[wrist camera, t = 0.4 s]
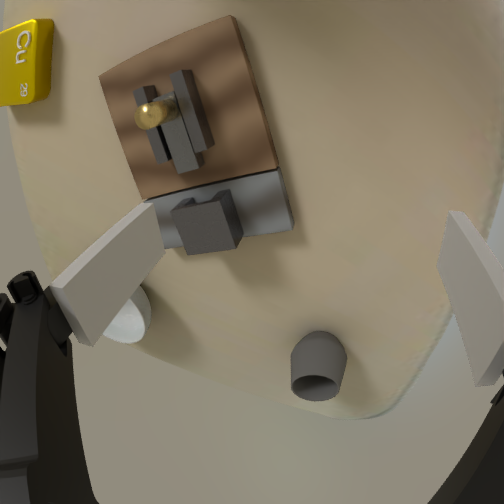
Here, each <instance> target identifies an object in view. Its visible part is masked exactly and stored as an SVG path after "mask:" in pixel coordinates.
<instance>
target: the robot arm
mask: <svg viewBox="0 0 504 504" xmlns="http://www.w3.org/2000/svg"><path fill="white" fill-rule="evenodd" d="M165 253H166V252H165V249H164V245H163V241H162V237H161V233H160V229H159V225H158V220H157V216H156V212H155V208H154V203H140V204H139V205H138V206H136V207H135V208H134V209H133V210H131V211H130V212H129V213H128V214H127V215H125V216H124V217H123V218H122V219H121V220H119V221H118V222H117V223H116V224H115V225H114V226H112V227H111V228H110V229H109V230H108V231H107V232H106V233H104V234H103V235H102V236H101V237H100V238H99V239H98V240H97V241H95V242H94V243H93V244H92V245H91V246H90V247H89V248H88V249H87V250H85V251H84V252H83V253H82V254H81V255H80V256H79V257H78V258H77V259H76V260H75V261H74V262H73V263H71V264H70V265H69V266H68V267H67V268H66V269H65V270H64V271H63V272H62V273H61V274H60V275H59V276H58V277H57V278H56V279H55V280H54V281H53V282H52V283H51V284H50V285H49V286H48V287H47V288H46V289H45V290H44V291H43V289H42V287H41V285H40V283H39V281H38V279H37V277H36V275H35V273H34V272H33V271H26V272H22V273H20V274H18V275H17V276H15V277H14V278H13V279H12V280H11V281H10V282H9V283H8V285H7V288H8V290H9V292H10V294H11V295H12V297H13V299H14V301H15V303H11V302H10V300H9V298H8V296H7V295H6V294H5V293H1V294H0V338H1V339H2V341H3V342H4V344H5V345H6V347H7V348H6V351H3V350H2V348H1V347H0V504H99V503H98V502H97V500H96V499H95V497H94V494H93V491H92V487H91V483H90V479H89V474H88V470H87V465H86V460H85V455H84V450H83V445H82V439H81V433H80V426H79V420H78V412H77V404H76V396H75V385H74V374H73V358H72V343H71V341H70V339H69V335H70V334H71V333H72V332H73V333H74V335H75V336H76V338H77V340H78V342H79V343H82V344H85V345H88V346H92V347H93V346H94V345H95V343H96V342H97V341H98V339H99V338H100V336H101V335H102V334H103V332H104V331H105V330H106V328H107V327H108V326H109V324H110V323H111V322H112V320H113V319H114V318H115V316H116V315H117V314H118V312H119V311H120V310H121V308H122V307H123V306H124V304H125V303H126V302H127V301H128V299H129V298H130V297H131V295H132V294H133V293H134V292H135V290H136V289H137V288H138V286H139V285H140V284H141V283H142V281H143V280H144V279H145V278H146V276H147V275H148V274H149V273H150V271H151V270H152V269H153V268H154V266H155V265H156V264H157V263H158V261H159V260H160V259H161V258H162V257H163V255H164V254H165ZM437 269H438V271H439V274H440V276H441V279H442V281H443V284H444V286H445V289H446V292H447V294H448V297H449V300H450V303H451V305H452V308H453V311H454V314H455V317H456V320H457V323H458V326H459V329H460V332H461V335H462V339H463V342H464V346H465V349H466V352H467V356H468V360H469V364H470V367H471V371H472V375H473V379H474V383H475V386H476V387H479V386H488V385H494V384H495V383H496V381H497V380H498V378H499V377H500V375H501V374H502V373H503V376H504V269H503V268H502V266H501V265H500V263H499V262H498V260H497V259H496V257H495V255H494V254H493V252H492V251H491V249H490V248H489V246H488V245H487V243H486V242H485V240H484V239H483V238H482V236H481V235H480V233H479V232H478V231H477V229H476V228H475V226H474V225H473V224H472V222H471V221H470V220H469V218H468V217H467V216H466V214H465V213H464V212H458V211H448V216H447V221H446V226H445V231H444V236H443V241H442V245H441V249H440V254H439V258H438V262H437ZM491 403H492V404H493V405H492V407H491V409H490V411H489V413H488V414H487V416H486V418H485V420H484V422H483V424H482V425H481V427H480V429H479V430H478V432H477V434H476V436H475V437H474V439H473V441H472V442H471V444H470V446H469V447H468V449H467V450H466V452H465V453H464V455H463V456H462V458H461V459H460V461H459V462H458V464H457V465H456V467H455V468H454V470H453V471H452V472H451V474H450V475H449V477H448V478H447V479H446V481H445V482H444V483H443V485H442V486H441V487H440V489H439V490H438V491H437V492H436V494H435V495H434V496H433V497H432V499H431V500H430V501H429V502H428V504H504V385H503V386H502V387H501V389H500V390H499V391H498V393H497V394H496V395H495V397H494V398H493V399H492V401H491Z"/></svg>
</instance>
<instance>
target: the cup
mask: <svg viewBox="0 0 504 504" xmlns="http://www.w3.org/2000/svg"><path fill="white" fill-rule="evenodd" d="M346 362H347V355H346V352H345V349H344V347H343V346H342V345H341V343H340V342H339V340H338V339H337V338H336V337H335V336H334V335H332V334H330V333H328V332H322V331H319V332H313V333H310V334H308V335H307V336H305V337H304V338H303V339H302V340H301V341H300V342H299V343H298V344H297V345H296V346H295V347H294V349H293V351H292V353H291V390H292V391H293V393H294V394H295V395H297V396H298V397H300V398H302V399H305V400H309V401H325V400H329V399H331V398H333V397H335V396H336V395H337V394H338V393H339V390H340V386H341V382H342V379H343V375H344V371H345V367H346Z"/></svg>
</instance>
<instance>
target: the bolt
mask: <svg viewBox="0 0 504 504" xmlns="http://www.w3.org/2000/svg"><path fill="white" fill-rule="evenodd" d="M152 100H153V102H151V103H147V104H143V105H141V106H139V107H138V108H137V109H136V111H135V116H134V118H135V122H136V124H137V125H138V127H140V128H141V129H144V130H148V129H151V128H153V127H156V126H159V125H161V127H162V130H163V133H164V136H165V139H166V142H167V144H168V147H169V150H170V153H171V156H172V159H173V161H174V164H175V167H176V170H177V173H178V174H180V173H184V172H188V171H191V170H195V169H199V168H200V167H202V166H203V165H204V164H205V162H204V159H203V156H202V153H201V152H197V153H195V151H194V149H193V146H192V143H191V140H190V137H189V134H188V131H187V128H186V125H185V122H184V119H183V116H182V113H181V110H180V107H179V103H178V100H177V97H176V94H175V91H172V92H169V93H167V94H164V95H162V96H159V97H157V98H155V99H152Z"/></svg>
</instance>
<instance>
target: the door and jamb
mask: <svg viewBox="0 0 504 504" xmlns="http://www.w3.org/2000/svg"><path fill="white" fill-rule="evenodd" d="M189 69H191V70H192V73H193V76H194V79H195V82H196V86H197V89H198V92H199V95H200V98H201V101H202V104H203V107H204V110H205V114H206V117H207V120H208V123H209V126H210V129H211V132H212V135H213V138H214V142H215V145H214V146H212V147H211V148H209V149H208V150H204V151H201V153H202V156H203V159H204V162H205V164H204V165H203V166H202V167H200V168H199V169H195V170H191V171H188V172H184V173H180V174H178V173H177V170H176V167H175V164H174V161H173V159H171V160H169V161H167V162H164V163H161V164H157V161H156V158H155V156H154V153H153V150H152V147H151V145H150V142H149V139H148V136H147V133H146V130H144V129H141V128H140V127H138V125H137V124H136V122H135V118H134V116H135V111H136V109H137V108H138V107H137V104H136V101H135V98H134V95H133V92H132V91H134V90H136V89H138V88H140V87H143V86H149V85H155V88H156V91H157V95H158V97H159V96H162V95H164V94H167V93H169V92H172V91H174V88H173V85H172V82H171V79H170V76H169V74H172V73H174V72H177V71H179V70H189ZM98 77H99V80H100V83H101V86H102V89H103V92H104V96H105V99H106V102H107V105H108V108H109V111H110V114H111V117H112V120H113V123H114V125H115V128H116V131H117V134H118V137H119V140H120V142H121V145H122V148H123V151H124V153H125V156H126V159H127V161H128V164H129V167H130V169H131V172H132V175H133V177H134V180H135V182H136V185H137V187H138V190H139V192H140V195H141V197H142V200H143V199H147V198H148V199H147V200H146V201H144V203H154V208H155V212H156V216H157V220H158V225H159V229H160V233H161V237H162V241H163V245H164V249H169V248H175V247H182V246H184V245H183V243H182V240H181V238H180V235H179V233H178V231H177V228H176V226H175V223H174V221H173V218H172V216H171V213H170V211H171V210H172V209H173V208H174V207H175V206H176V205H177V204H178V203H179V202H180V201H182V200H183V199H186V198H191V197H193V198H194V201H195V203H199V202H204V201H208V200H211V199H212V198H213V197H214V196H215V194H216V193H217V192H218V191H222V190H227V189H230V191H231V194H232V197H233V200H234V203H235V207H236V210H237V213H238V216H239V219H240V222H241V225H242V228H243V231H244V235H243V237H248V236H255V235H262V234H269V233H276V232H283V231H290V230H293V226H294V220H293V216H292V212H291V208H290V204H289V200H288V197H287V193H286V189H285V185H284V181H283V177H282V173H281V170H280V167H277V166H278V165H279V162H278V158H277V155H276V151H275V147H274V144H273V140H272V137H271V133H270V130H269V126H268V122H267V119H266V115H265V112H264V109H263V105H262V102H261V98H260V95H259V92H258V88H257V85H256V82H255V78H254V75H253V72H252V69H251V65H250V62H249V59H248V56H247V53H246V50H245V46H244V43H243V40H242V37H241V34H240V31H239V28H238V25H237V22H236V19H235V18H234V17H233V16H231V15H229V16H226V17H223V18H220V19H218V20H215V21H212V22H209V23H207V24H204V25H202V26H199V27H196V28H194V29H191V30H189V31H187V32H184V33H182V34H180V35H177V36H175V37H173V38H170V39H168V40H166V41H164V42H162V43H160V44H157V45H155V46H153V47H151V48H149V49H147V50H145V51H143V52H141V53H139V54H137V55H135V56H134V57H132V58H130V59H128V60H126V61H124V62H122V63H121V64H119V65H117V66H115V67H113V68H112V69H110V70H108V71H107V72H105V73H103V74H102V75H100V76H98Z"/></svg>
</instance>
